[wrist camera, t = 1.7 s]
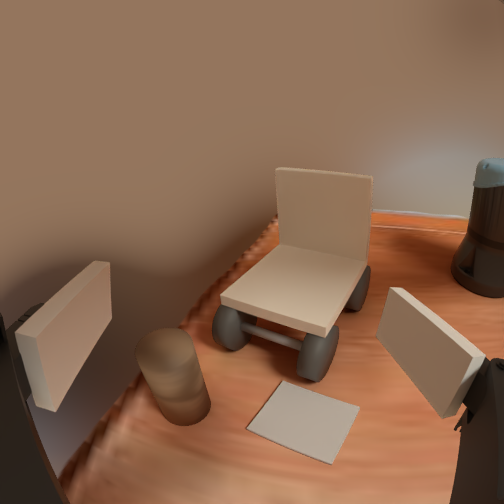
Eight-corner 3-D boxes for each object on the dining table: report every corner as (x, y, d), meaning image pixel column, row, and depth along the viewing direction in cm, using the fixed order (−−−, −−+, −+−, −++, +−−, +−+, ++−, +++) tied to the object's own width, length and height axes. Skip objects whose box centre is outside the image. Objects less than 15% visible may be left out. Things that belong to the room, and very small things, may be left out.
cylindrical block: (183, 380, 38) (163, 320, 33) (220, 400, 34) (205, 340, 30) (152, 409, 33) (123, 352, 29) (188, 434, 30) (163, 379, 26)
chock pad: (283, 381, 36) (283, 380, 36) (359, 408, 31) (360, 407, 31) (246, 429, 30) (246, 428, 30) (331, 465, 25) (331, 463, 25)
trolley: (291, 276, 57) (286, 163, 48) (367, 295, 50) (377, 172, 41) (216, 354, 41) (188, 210, 32) (314, 393, 34) (322, 231, 25)
